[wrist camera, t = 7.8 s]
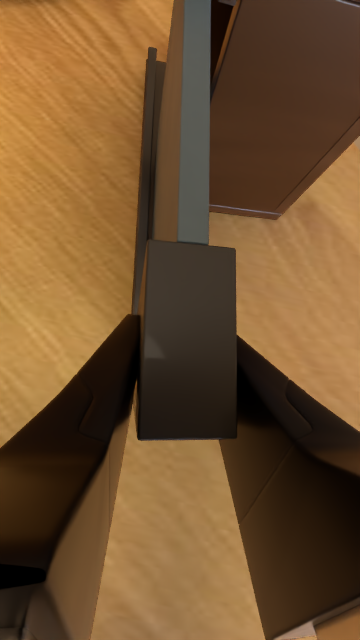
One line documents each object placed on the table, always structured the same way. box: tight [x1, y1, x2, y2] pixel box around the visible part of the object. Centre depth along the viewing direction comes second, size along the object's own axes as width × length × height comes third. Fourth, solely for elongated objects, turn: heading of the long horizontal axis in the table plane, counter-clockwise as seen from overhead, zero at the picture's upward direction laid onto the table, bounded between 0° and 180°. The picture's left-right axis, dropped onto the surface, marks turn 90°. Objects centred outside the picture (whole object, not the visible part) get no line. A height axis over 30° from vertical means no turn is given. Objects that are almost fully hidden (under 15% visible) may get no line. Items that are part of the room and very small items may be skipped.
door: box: [133, 0, 237, 441], centre depth 13 cm, size 16×2×10 cm, turn 178°
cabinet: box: [131, 0, 360, 315], centre depth 14 cm, size 20×10×13 cm, turn 178°
